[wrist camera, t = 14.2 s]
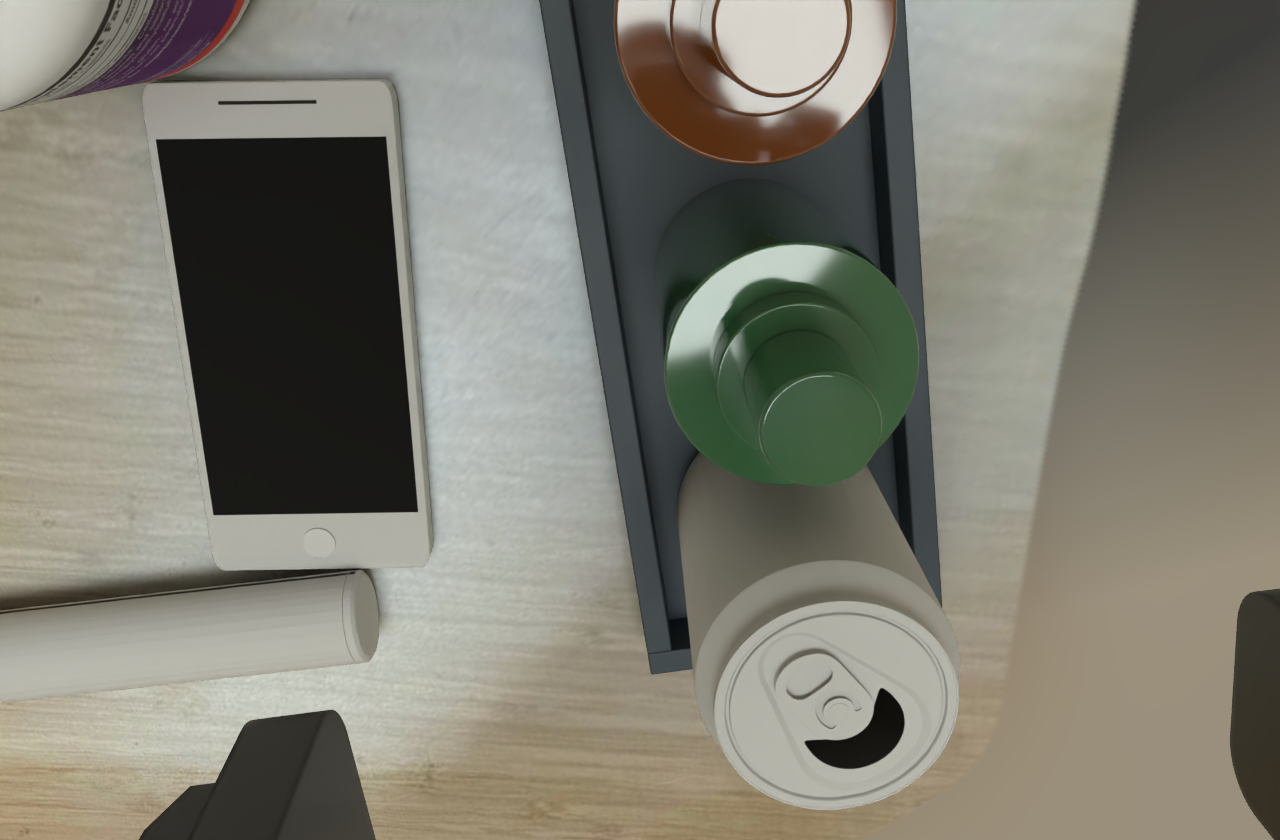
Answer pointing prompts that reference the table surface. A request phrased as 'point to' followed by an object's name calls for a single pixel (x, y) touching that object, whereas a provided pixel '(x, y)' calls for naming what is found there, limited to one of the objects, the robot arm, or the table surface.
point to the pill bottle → (103, 43)
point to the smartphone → (295, 318)
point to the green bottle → (779, 337)
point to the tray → (625, 298)
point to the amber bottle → (753, 70)
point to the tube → (187, 635)
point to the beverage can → (813, 637)
